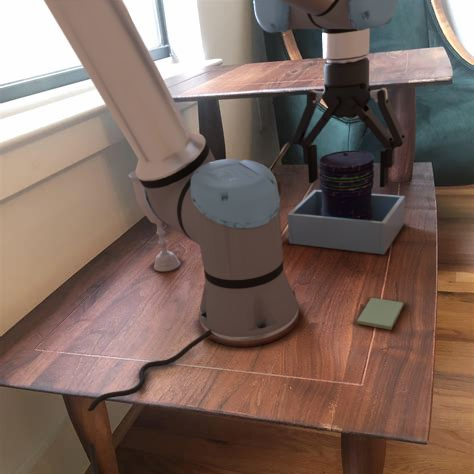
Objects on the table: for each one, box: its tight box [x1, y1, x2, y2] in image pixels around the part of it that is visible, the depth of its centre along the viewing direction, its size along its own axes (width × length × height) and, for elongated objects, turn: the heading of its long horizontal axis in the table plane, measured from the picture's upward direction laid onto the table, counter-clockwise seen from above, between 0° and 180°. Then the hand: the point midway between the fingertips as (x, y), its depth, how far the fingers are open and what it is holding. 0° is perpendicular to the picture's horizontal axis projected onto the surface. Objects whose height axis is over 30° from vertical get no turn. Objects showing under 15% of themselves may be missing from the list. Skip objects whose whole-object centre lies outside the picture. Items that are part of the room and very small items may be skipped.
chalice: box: [128, 169, 181, 272], centre depth 99 cm, size 7×7×18 cm
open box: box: [286, 189, 406, 256], centre depth 106 cm, size 14×19×6 cm
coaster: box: [356, 297, 404, 331], centre depth 81 cm, size 7×5×1 cm
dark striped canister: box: [319, 150, 375, 221], centre depth 103 cm, size 10×10×15 cm
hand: (347, 182), depth 102 cm, fingers open, 13 cm apart
